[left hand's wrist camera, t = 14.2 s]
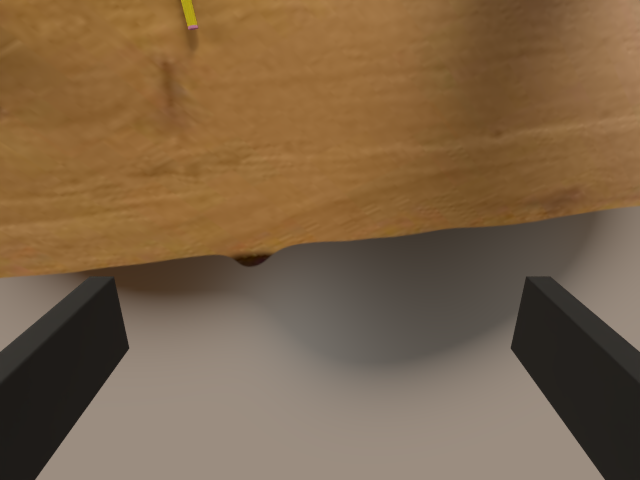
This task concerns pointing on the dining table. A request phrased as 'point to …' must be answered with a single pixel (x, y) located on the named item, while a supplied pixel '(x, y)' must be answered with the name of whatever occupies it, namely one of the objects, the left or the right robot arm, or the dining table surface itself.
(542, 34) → the dining table surface
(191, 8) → the pencil
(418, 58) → the dining table surface
